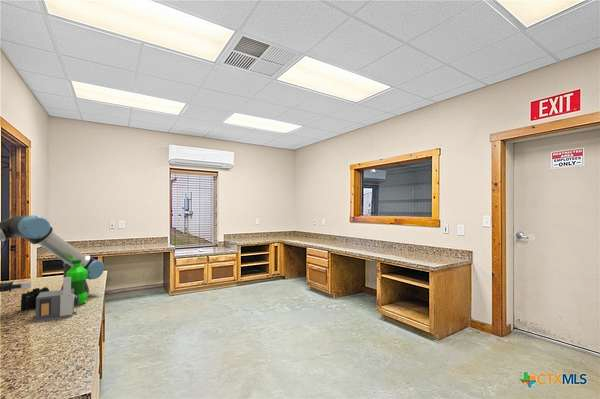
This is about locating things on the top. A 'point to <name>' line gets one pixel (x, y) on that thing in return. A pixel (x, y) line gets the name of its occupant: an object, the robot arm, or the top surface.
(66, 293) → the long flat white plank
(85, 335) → the top surface
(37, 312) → the housing
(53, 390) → the top surface
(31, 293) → the camera
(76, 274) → the plastic bottle
